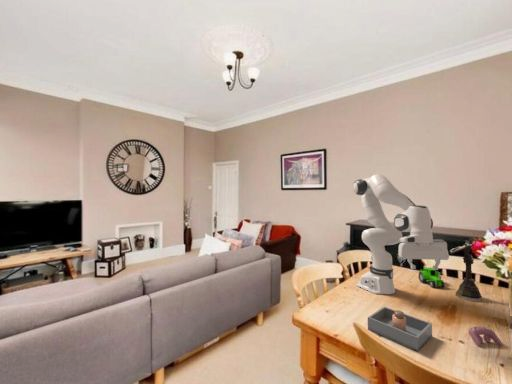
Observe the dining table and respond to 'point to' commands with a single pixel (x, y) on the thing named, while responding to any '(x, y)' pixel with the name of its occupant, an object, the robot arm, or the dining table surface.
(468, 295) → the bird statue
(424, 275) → the toy tractor
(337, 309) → the dining table surface
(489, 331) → the purple animal figurine
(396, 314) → the jar
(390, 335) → the bin
